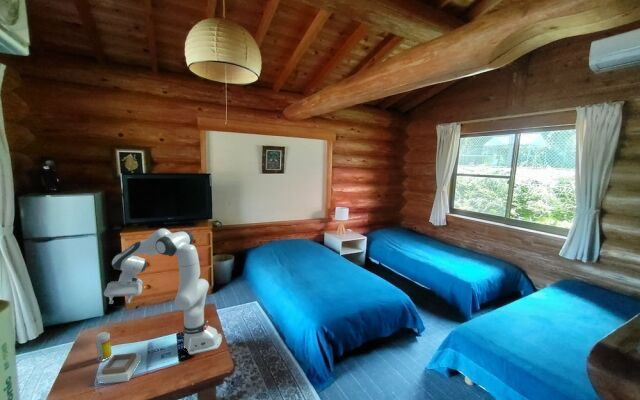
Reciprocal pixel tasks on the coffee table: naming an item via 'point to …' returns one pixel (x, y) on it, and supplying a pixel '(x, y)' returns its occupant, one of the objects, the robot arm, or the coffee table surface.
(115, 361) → the display plinth
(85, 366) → the coffee table surface
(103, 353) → the beer can
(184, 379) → the coffee table surface
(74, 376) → the coffee table surface
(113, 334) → the coffee table surface
